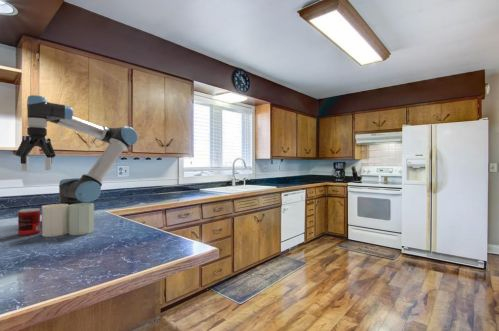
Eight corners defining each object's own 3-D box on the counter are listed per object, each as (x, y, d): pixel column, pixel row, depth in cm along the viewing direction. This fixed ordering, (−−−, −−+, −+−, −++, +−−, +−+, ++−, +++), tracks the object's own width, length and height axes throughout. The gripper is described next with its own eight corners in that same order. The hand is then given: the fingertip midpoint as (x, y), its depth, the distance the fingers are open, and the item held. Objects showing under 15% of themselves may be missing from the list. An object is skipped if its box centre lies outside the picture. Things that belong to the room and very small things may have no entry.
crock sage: (78, 229, 128) (78, 203, 128) (97, 230, 127) (97, 203, 127) (63, 235, 118) (63, 206, 118) (84, 235, 118) (84, 206, 118)
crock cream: (53, 231, 125) (53, 203, 125) (73, 231, 125) (73, 203, 125) (36, 236, 116) (36, 207, 116) (57, 237, 115) (57, 207, 115)
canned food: (37, 230, 127) (37, 207, 127) (42, 233, 121) (42, 209, 121) (16, 233, 121) (16, 209, 121) (20, 237, 116) (20, 211, 116)
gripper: (50, 130, 144) (50, 169, 144) (5, 123, 119) (5, 170, 119) (63, 130, 143) (63, 169, 143) (21, 123, 118) (21, 171, 119)
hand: (37, 170), depth 131 cm, fingers open, 13 cm apart
